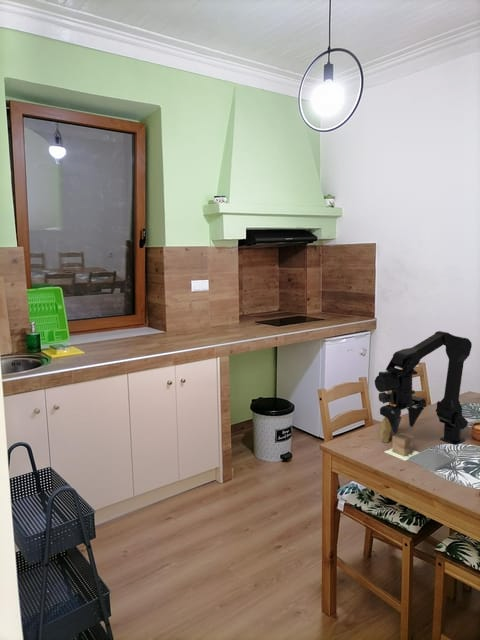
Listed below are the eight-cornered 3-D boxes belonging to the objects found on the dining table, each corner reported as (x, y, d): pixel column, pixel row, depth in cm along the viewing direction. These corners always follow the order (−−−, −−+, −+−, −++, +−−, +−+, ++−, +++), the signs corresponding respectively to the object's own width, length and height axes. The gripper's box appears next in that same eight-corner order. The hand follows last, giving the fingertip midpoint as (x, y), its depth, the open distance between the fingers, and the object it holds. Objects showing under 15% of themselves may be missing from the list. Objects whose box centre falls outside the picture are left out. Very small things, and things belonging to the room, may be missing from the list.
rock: (393, 440, 169) (406, 428, 176) (379, 420, 171) (392, 409, 178) (373, 449, 177) (386, 438, 183) (360, 430, 179) (373, 419, 185)
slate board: (427, 451, 164) (427, 449, 164) (454, 461, 156) (454, 458, 155) (408, 460, 158) (408, 457, 158) (434, 471, 150) (435, 468, 149)
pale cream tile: (400, 445, 170) (400, 444, 170) (421, 453, 163) (421, 453, 163) (384, 451, 165) (384, 451, 165) (405, 460, 158) (405, 460, 158)
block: (401, 448, 167) (401, 432, 166) (413, 452, 163) (413, 436, 162) (392, 451, 164) (392, 436, 164) (404, 456, 160) (404, 440, 159)
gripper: (400, 377, 172) (400, 417, 174) (367, 387, 162) (367, 429, 164) (427, 384, 163) (426, 425, 165) (393, 395, 152) (393, 439, 155)
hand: (403, 429), depth 163 cm, fingers open, 9 cm apart
